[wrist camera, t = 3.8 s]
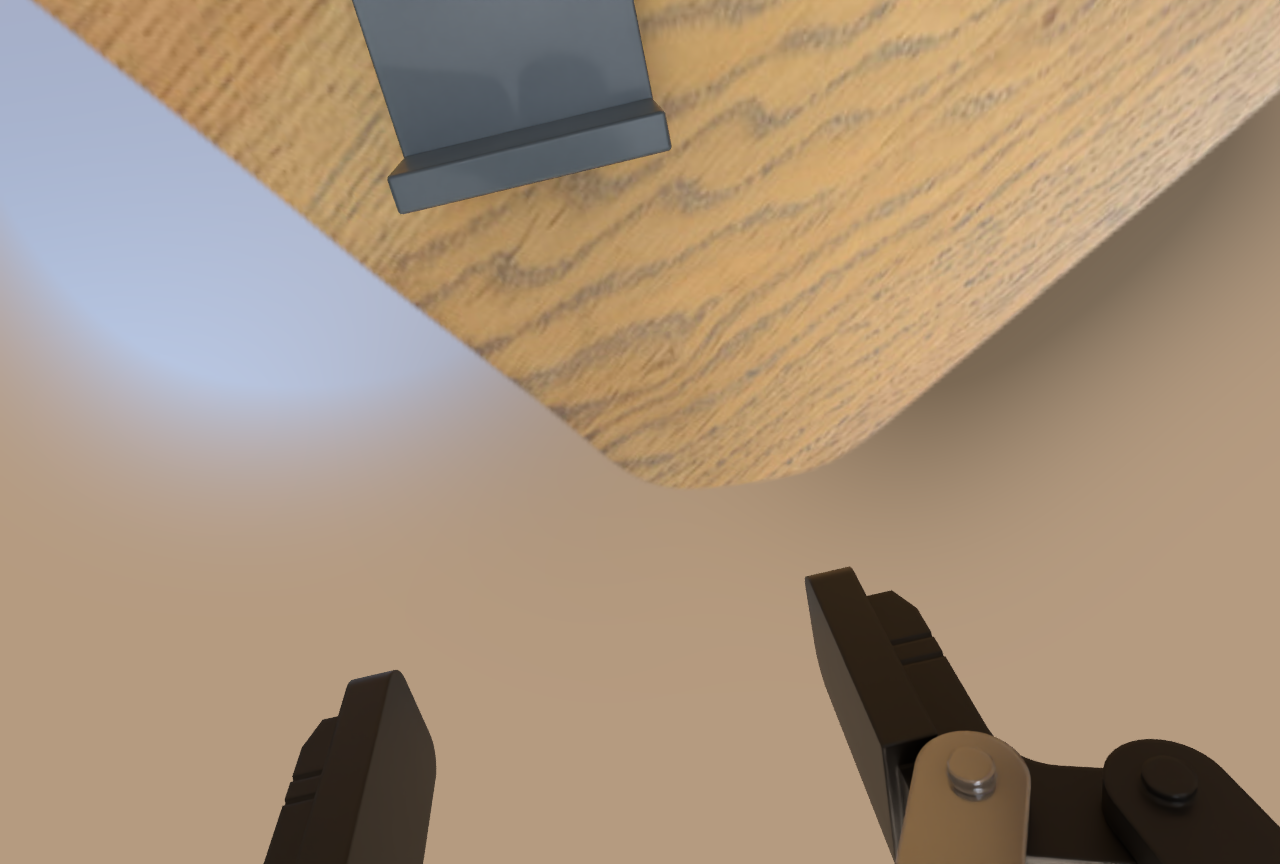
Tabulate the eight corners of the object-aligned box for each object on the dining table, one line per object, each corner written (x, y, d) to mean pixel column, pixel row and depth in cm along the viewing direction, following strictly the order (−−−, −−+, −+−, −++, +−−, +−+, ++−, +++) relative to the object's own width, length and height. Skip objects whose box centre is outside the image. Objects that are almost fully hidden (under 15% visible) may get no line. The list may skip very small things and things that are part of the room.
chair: (434, 163, 29) (399, 216, 23) (356, -81, 26) (288, -106, 19) (644, 112, 29) (672, 150, 22) (593, -140, 26) (608, -185, 19)
